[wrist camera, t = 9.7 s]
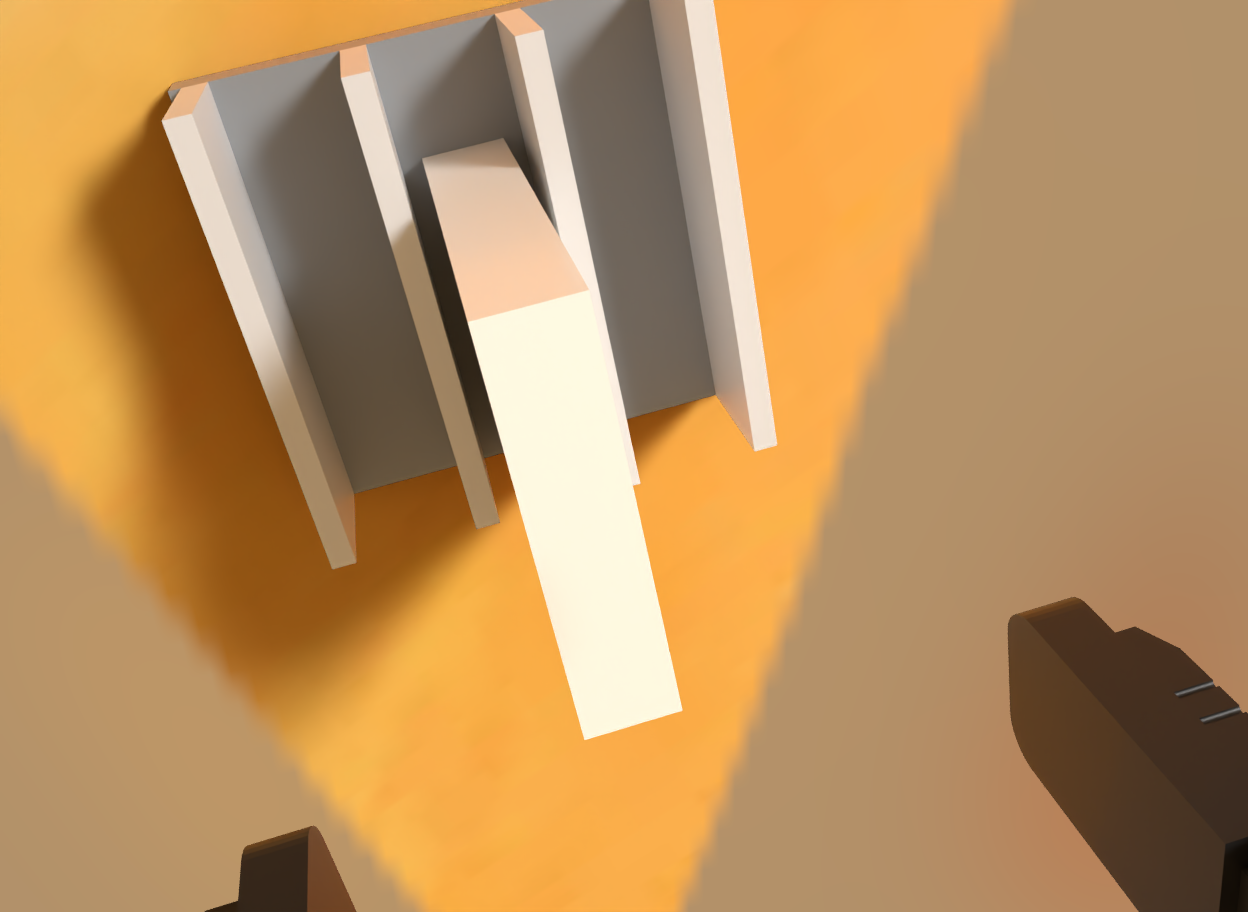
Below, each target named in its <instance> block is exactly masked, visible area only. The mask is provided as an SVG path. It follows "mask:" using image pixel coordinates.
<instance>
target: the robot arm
mask: <svg viewBox="0 0 1248 912" xmlns="http://www.w3.org/2000/svg"><path fill="white" fill-rule="evenodd" d="M1008 650H1009V651H1008V654H1009V684H1010V685H1009V686H1010V712H1011V721H1012V726H1013V730H1014V733H1015V736H1016V739H1017V742H1018V744H1019V747H1020V749H1021V751H1022V753H1023V755H1024V757H1025V759H1026V761H1027V763H1028V764H1029V766H1030V767H1031V769H1032V770H1033V771H1034V773H1035V774H1036V775H1037V777H1038V778H1039V779H1040V781H1041V782H1042V783H1043V785H1044V786H1045V787H1046V789H1047V790H1048V791H1049V793H1050V794H1051V795H1052V797H1053V798H1054V799H1055V801H1056V802H1057V803H1058V805H1059V806H1060V807H1061V809H1062V810H1063V811H1064V813H1065V814H1066V815H1067V817H1068V818H1069V819H1070V821H1071V822H1072V823H1073V825H1074V826H1075V827H1076V828H1077V830H1078V831H1079V833H1080V834H1081V835H1082V837H1083V838H1084V839H1085V841H1086V842H1087V843H1088V845H1089V846H1090V847H1091V849H1092V850H1093V851H1094V852H1095V854H1096V855H1097V857H1098V858H1099V859H1100V861H1101V862H1102V863H1103V865H1104V866H1105V867H1106V869H1107V870H1108V871H1109V872H1110V874H1111V875H1112V877H1113V878H1114V879H1115V880H1116V882H1117V883H1118V885H1119V886H1120V887H1121V889H1122V890H1123V891H1124V892H1125V894H1126V895H1127V897H1128V898H1129V899H1130V901H1131V902H1132V903H1133V905H1134V906H1135V907H1136V908H1137V910H1138V911H1139V912H1248V713H1247V712H1245V713H1242V712H1241V710H1240V708H1239V705H1238V704H1237V703H1236V702H1235V701H1234V700H1233V699H1232V698H1231V697H1230V696H1229V695H1228V694H1227V693H1226V692H1225V691H1224V690H1223V689H1222V688H1221V687H1220V686H1218V687H1215V685H1214V684H1213V680H1212V679H1211V678H1210V677H1209V676H1208V675H1207V674H1206V673H1205V672H1204V671H1203V670H1202V669H1201V668H1200V667H1199V666H1198V665H1196V663H1194V662H1193V661H1192V660H1191V659H1190V658H1189V657H1188V656H1187V655H1186V654H1185V653H1184V652H1183V651H1182V650H1181V649H1180V648H1178V647H1176V646H1174V645H1172V644H1170V643H1168V642H1165V641H1163V640H1161V639H1159V638H1157V637H1155V636H1153V635H1151V634H1149V633H1147V632H1145V631H1143V630H1140V629H1139V628H1137V627H1132V628H1129V629H1126V630H1123V631H1119V632H1116V633H1115V632H1114V631H1113V630H1112V629H1111V628H1110V627H1109V626H1108V625H1107V624H1106V623H1105V622H1104V621H1103V620H1102V619H1101V618H1100V617H1099V616H1098V615H1097V614H1096V613H1095V612H1094V611H1093V610H1092V609H1091V608H1090V607H1089V606H1088V605H1087V604H1086V603H1085V602H1084V601H1082V600H1081V599H1079V598H1076V597H1071V598H1068V599H1065V600H1061V601H1058V602H1055V603H1052V604H1048V605H1046V606H1042V607H1038V608H1035V609H1032V610H1029V611H1025V612H1022V613H1019V614H1015V615H1013V616H1012V617H1011V618H1010V620H1009V623H1008ZM240 873H241V874H240V884H239V885H240V886H239V897H238V901H236V902H233V903H230V904H226V905H223V906H220V907H216V908H213V909H210V910H207V911H205V912H356V910H355V908H354V905H353V903H352V901H351V899H350V897H349V894H348V892H347V890H346V888H345V886H344V883H343V881H342V879H341V877H340V874H339V872H338V870H337V868H336V866H335V863H334V861H333V859H332V857H331V854H330V852H329V850H328V848H327V845H326V843H325V841H324V839H323V837H322V835H321V833H320V831H319V830H318V829H317V828H316V827H315V826H310V827H307V828H304V829H301V830H297V831H294V832H291V833H288V834H285V835H281V836H277V837H275V838H271V839H268V840H264V841H261V842H258V843H255V844H251V845H248V846H246V847H245V848H244V850H243V854H242V860H241V872H240Z"/></svg>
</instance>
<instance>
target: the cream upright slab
mask: <svg viewBox="0 0 1248 912" xmlns="http://www.w3.org/2000/svg"><path fill="white" fill-rule="evenodd" d="M422 160H423V164H424V168H425V171H426V175H427V178H428V182H429V186H430V189H431V193H432V196H433V200H434V203H435V207H436V211H437V214H438V218H439V221H440V225H441V229H442V232H443V236H444V239H445V243H446V247H447V250H448V254H449V257H450V261H451V264H452V268H453V272H454V275H455V279H456V282H457V286H458V290H459V293H460V297H461V300H462V304H463V307H464V311H465V315H466V318H467V322H468V325H469V329H470V333H471V336H472V340H473V343H474V347H475V350H476V354H477V358H478V361H479V365H480V368H481V372H482V375H483V379H484V383H485V386H486V390H487V393H488V397H489V400H490V404H491V408H492V411H493V415H494V418H495V422H496V425H497V429H498V432H499V436H500V440H501V443H502V447H503V450H504V454H505V457H506V461H507V465H508V468H509V472H510V475H511V479H512V482H513V486H514V490H515V493H516V497H517V500H518V504H519V507H520V511H521V515H522V518H523V522H524V525H525V529H526V532H527V536H528V540H529V543H530V547H531V550H532V554H533V557H534V561H535V565H536V568H537V572H538V575H539V579H540V582H541V586H542V590H543V593H544V597H545V600H546V604H547V607H548V611H549V615H550V618H551V622H552V625H553V629H554V632H555V636H556V640H557V643H558V647H559V650H560V654H561V657H562V661H563V664H564V668H565V672H566V675H567V679H568V682H569V686H570V689H571V693H572V697H573V700H574V704H575V707H576V711H577V714H578V718H579V722H580V725H581V729H582V732H583V736H584V739H585V740H586V739H590V738H593V737H596V736H600V735H603V734H606V733H610V732H613V731H616V730H620V729H623V728H626V727H629V726H633V725H636V724H639V723H643V722H646V721H649V720H653V719H656V718H659V717H662V716H666V715H669V714H672V713H676V712H679V711H682V706H681V702H680V697H679V693H678V688H677V684H676V679H675V675H674V670H673V666H672V661H671V656H670V652H669V647H668V643H667V638H666V634H665V629H664V625H663V620H662V616H661V611H660V607H659V602H658V598H657V593H656V589H655V584H654V580H653V575H652V571H651V566H650V562H649V557H648V553H647V548H646V544H645V539H644V535H643V530H642V526H641V521H640V517H639V512H638V508H637V503H636V499H635V494H634V490H633V485H632V480H631V476H630V471H629V467H628V462H627V458H626V453H625V449H624V444H623V440H622V435H621V431H620V426H619V422H618V417H617V413H616V408H615V404H614V399H613V395H612V390H611V386H610V381H609V377H608V372H607V368H606V363H605V359H604V354H603V350H602V345H601V341H600V336H599V332H598V327H597V323H596V318H595V313H594V309H593V304H592V300H591V295H590V291H589V289H588V287H587V285H586V283H585V281H584V280H583V278H582V276H581V274H580V273H579V271H578V269H577V267H576V266H575V264H574V262H573V260H572V258H571V257H570V255H569V253H568V251H567V250H566V248H565V246H564V244H563V243H562V241H561V239H560V237H559V236H558V234H557V232H556V230H555V228H554V227H553V225H552V223H551V221H550V220H549V218H548V216H547V214H546V213H545V211H544V209H543V207H542V206H541V204H540V202H539V200H538V198H537V197H536V195H535V193H534V191H533V190H532V188H531V186H530V184H529V183H528V181H527V179H526V177H525V176H524V174H523V172H522V170H521V168H520V167H519V165H518V163H517V161H516V160H515V158H514V156H513V154H512V153H511V151H510V149H509V147H508V145H507V144H506V142H505V140H504V138H501V139H497V140H493V141H489V142H485V143H481V144H477V145H473V146H469V147H465V148H461V149H457V150H453V151H449V152H445V153H441V154H437V155H433V156H429V157H425V158H422Z"/></svg>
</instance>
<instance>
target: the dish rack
mask: <svg viewBox="0 0 1248 912" xmlns="http://www.w3.org/2000/svg"><path fill="white" fill-rule="evenodd" d="M168 94H169V96H170V99H171V102H172V104H171V106H170V108H169V109H168V111H167V113H166V114H165V116H164V118H163V119H162V123H163V126H164V129H165V131H166V134H167V136H168V139H169V142H170V144H171V147H172V150H173V152H174V155H175V157H176V160H177V163H178V165H179V168H180V171H181V173H182V176H183V179H184V181H185V184H186V186H187V189H188V192H189V194H190V197H191V200H192V202H193V205H194V207H195V210H196V213H197V215H198V218H199V221H200V223H201V226H202V228H203V231H204V234H205V236H206V239H207V242H208V244H209V247H210V249H211V252H212V255H213V257H214V260H215V263H216V265H217V268H218V270H219V273H220V276H221V278H222V281H223V284H224V286H225V289H226V291H227V294H228V297H229V299H230V302H231V305H232V307H233V310H234V313H235V315H236V318H237V320H238V323H239V326H240V328H241V331H242V334H243V336H244V339H245V341H246V344H247V347H248V349H249V352H250V355H251V357H252V360H253V362H254V365H255V368H256V370H257V373H258V376H259V378H260V381H261V383H262V386H263V389H264V391H265V394H266V397H267V399H268V402H269V404H270V407H271V410H272V412H273V415H274V418H275V420H276V423H277V425H278V428H279V431H280V433H281V436H282V439H283V441H284V444H285V446H286V449H287V452H288V454H289V457H290V460H291V462H292V465H293V468H294V470H295V473H296V475H297V478H298V481H299V483H300V486H301V489H302V491H303V494H304V496H305V499H306V502H307V504H308V507H309V510H310V512H311V515H312V517H313V520H314V523H315V525H316V528H317V531H318V533H319V536H320V538H321V541H322V544H323V546H324V549H325V552H326V554H327V557H328V559H329V562H330V565H331V567H332V570H333V569H336V568H340V567H343V566H347V565H350V564H354V563H357V560H356V530H355V501H354V494H355V493H359V492H363V491H366V490H370V489H374V488H377V487H381V486H384V485H388V484H392V483H395V482H399V481H403V480H406V479H410V478H414V477H417V476H421V475H425V474H428V473H432V472H436V471H439V470H443V469H447V468H450V467H454V466H458V470H459V473H460V476H461V480H462V483H463V486H464V489H465V493H466V496H467V499H468V503H469V506H470V509H471V513H472V516H473V519H474V523H475V526H476V529H479V528H483V527H486V526H490V525H494V524H497V523H500V520H499V516H498V512H497V508H496V504H495V500H494V496H493V491H492V487H491V483H490V479H489V475H488V471H487V467H486V463H485V459H484V458H487V457H490V456H494V455H498V454H501V453H504V450H503V447H502V443H501V440H500V436H499V432H498V429H497V425H496V422H495V418H494V415H493V411H492V408H491V404H490V400H489V397H488V393H487V390H486V386H485V383H484V379H483V375H482V372H481V368H480V365H479V361H478V358H477V354H476V350H475V347H474V343H473V340H472V336H471V333H470V329H469V325H468V322H467V318H466V315H465V311H464V307H463V304H462V300H461V297H460V293H459V290H458V286H457V282H456V279H455V275H454V272H453V268H452V264H451V261H450V257H449V254H448V250H447V247H446V243H445V239H444V236H443V232H442V229H441V225H440V221H439V218H438V214H437V211H436V207H435V203H434V200H433V196H432V193H431V189H430V186H429V182H428V178H427V175H426V171H425V168H424V164H423V160H422V158H425V157H429V156H433V155H437V154H441V153H445V152H449V151H453V150H457V149H461V148H465V147H469V146H473V145H477V144H481V143H485V142H489V141H493V140H497V139H501V138H504V140H505V142H506V144H507V145H508V147H509V149H510V151H511V153H512V154H513V156H514V158H515V160H516V161H517V163H518V165H519V167H520V168H521V170H522V172H523V174H524V176H525V177H526V179H527V181H528V183H529V184H530V186H531V188H532V190H533V191H534V193H535V195H536V197H537V198H538V200H539V202H540V204H541V206H542V207H543V209H544V211H545V213H546V214H547V216H548V218H549V220H550V221H551V223H552V225H553V227H554V228H555V230H556V232H557V234H558V236H559V237H560V239H561V241H562V243H563V244H564V246H565V248H566V250H567V251H568V253H569V255H570V257H571V258H572V260H573V262H574V264H575V266H576V267H577V269H578V271H579V273H580V274H581V276H582V278H583V280H584V281H585V283H586V285H587V287H588V289H589V291H590V295H591V300H592V304H593V309H594V313H595V318H596V323H597V327H598V332H599V336H600V341H601V345H602V350H603V354H604V359H605V363H606V368H607V372H608V377H609V381H610V386H611V390H612V395H613V399H614V404H615V408H616V413H617V417H618V422H619V426H620V431H621V435H622V440H623V444H624V449H625V453H626V458H627V462H628V467H629V471H630V476H631V480H632V485H637V484H640V480H639V475H638V470H637V466H636V461H635V456H634V452H633V447H632V442H631V438H630V433H629V428H628V424H627V419H629V418H633V417H636V416H640V415H644V414H647V413H651V412H655V411H658V410H662V409H666V408H669V407H673V406H677V405H680V404H684V403H688V402H691V401H695V400H699V399H702V398H706V397H709V396H713V395H716V396H717V397H718V399H719V400H720V402H721V403H722V405H723V406H724V408H725V409H726V411H727V412H728V413H729V415H730V416H731V418H732V419H733V421H734V422H735V424H736V425H737V427H738V428H739V429H740V431H741V432H742V434H743V435H744V437H745V438H746V440H747V441H748V443H749V444H750V446H751V447H752V448H753V450H754V451H758V450H762V449H765V448H769V447H773V446H776V445H777V440H776V433H775V426H774V419H773V413H772V406H771V399H770V392H769V385H768V378H767V371H766V364H765V357H764V350H763V343H762V336H761V329H760V322H759V315H758V308H757V301H756V294H755V287H754V281H753V274H752V267H751V260H750V253H749V246H748V239H747V232H746V225H745V218H744V211H743V204H742V197H741V190H740V183H739V176H738V169H737V162H736V155H735V149H734V142H733V135H732V128H731V121H730V114H729V107H728V100H727V93H726V86H725V79H724V72H723V65H722V58H721V51H720V44H719V37H718V30H717V23H716V17H715V10H714V3H713V0H523V1H519V2H515V3H511V4H506V5H502V6H498V7H494V8H490V9H485V10H481V11H477V12H473V13H468V14H464V15H460V16H456V17H451V18H447V19H443V20H439V21H434V22H430V23H426V24H422V25H418V26H413V27H409V28H405V29H401V30H396V31H392V32H388V33H384V34H379V35H375V36H371V37H367V38H362V39H358V40H354V41H350V42H346V43H341V44H337V45H333V46H329V47H324V48H320V49H316V50H312V51H307V52H303V53H299V54H295V55H291V56H286V57H282V58H278V59H274V60H269V61H265V62H261V63H257V64H252V65H248V66H244V67H240V68H235V69H231V70H227V71H223V72H219V73H214V74H210V75H206V76H202V77H197V78H193V79H189V80H185V81H180V82H176V83H173V84H172V85H171V87H170V88H169V90H168Z"/></svg>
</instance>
